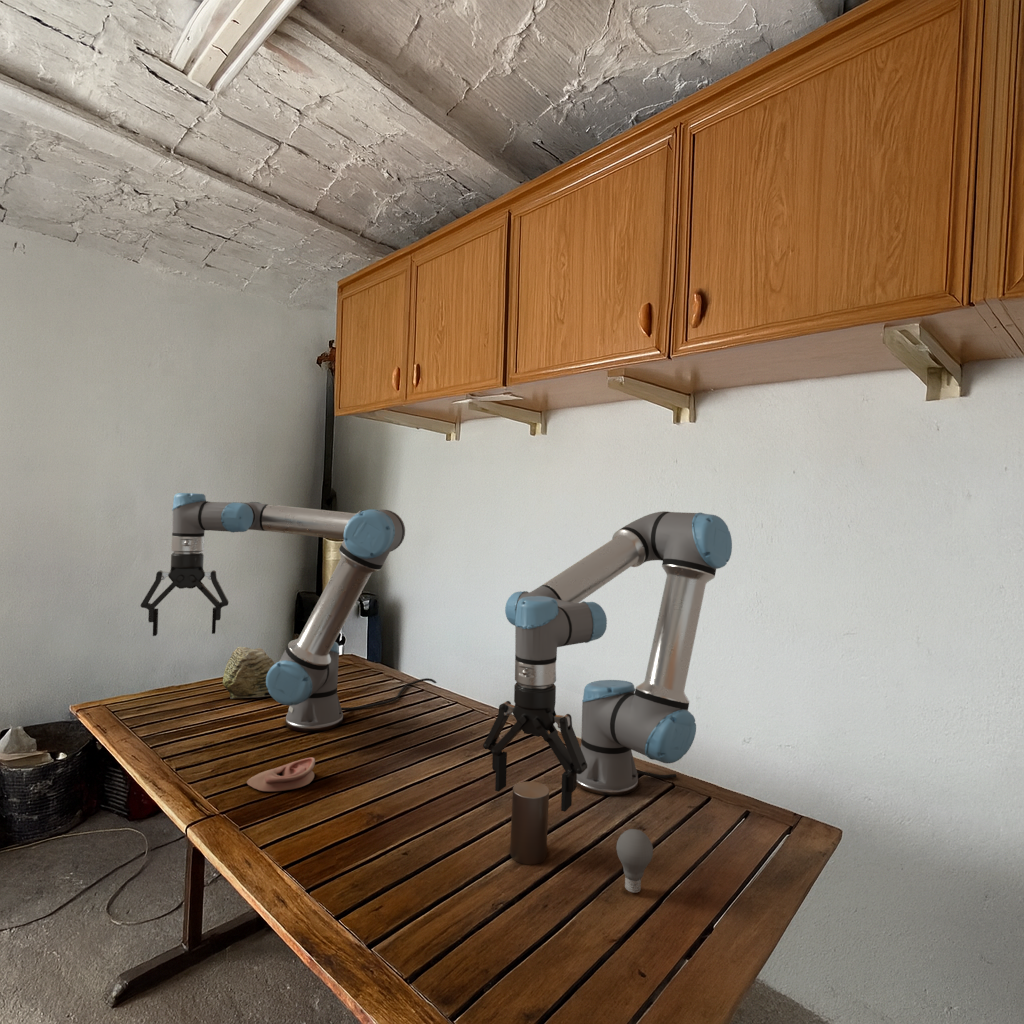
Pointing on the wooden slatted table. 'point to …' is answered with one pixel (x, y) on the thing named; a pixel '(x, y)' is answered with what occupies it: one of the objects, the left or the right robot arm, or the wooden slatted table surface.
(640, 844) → the light bulb
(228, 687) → the fossil
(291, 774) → the anatomical model
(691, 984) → the wooden slatted table surface
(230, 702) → the wooden slatted table surface
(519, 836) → the canister
